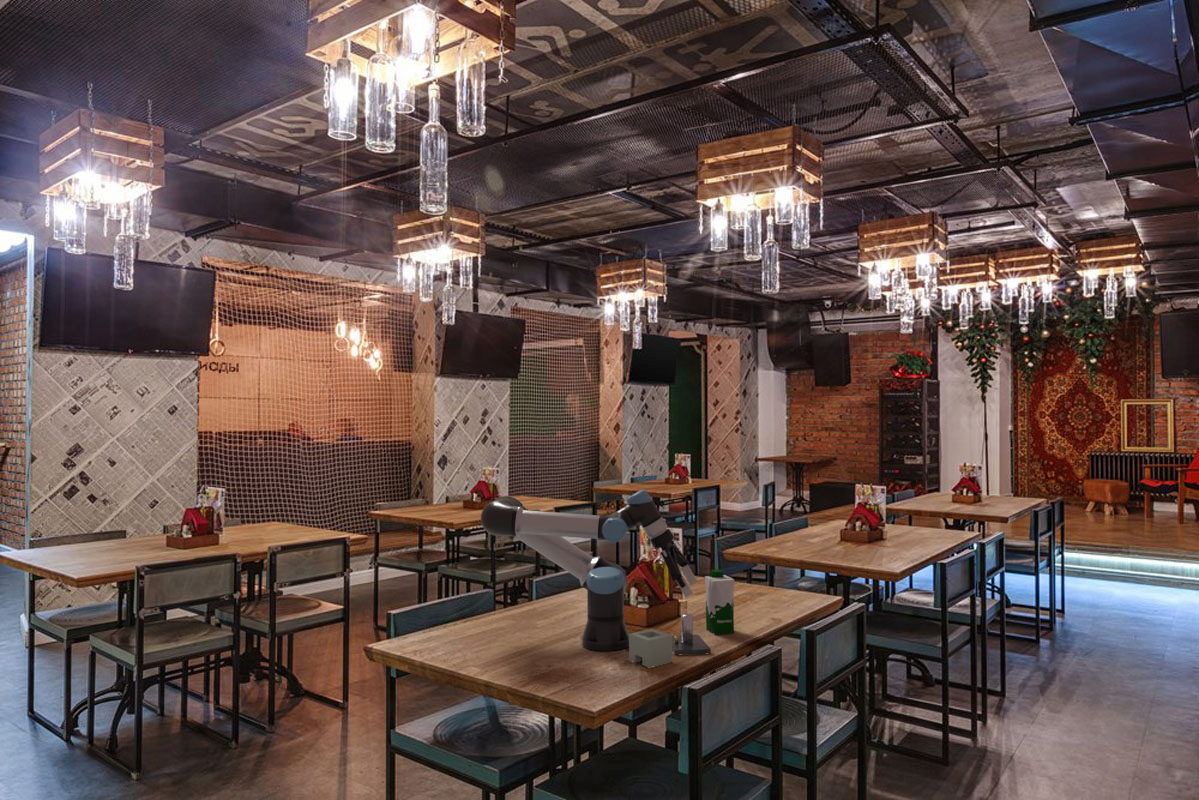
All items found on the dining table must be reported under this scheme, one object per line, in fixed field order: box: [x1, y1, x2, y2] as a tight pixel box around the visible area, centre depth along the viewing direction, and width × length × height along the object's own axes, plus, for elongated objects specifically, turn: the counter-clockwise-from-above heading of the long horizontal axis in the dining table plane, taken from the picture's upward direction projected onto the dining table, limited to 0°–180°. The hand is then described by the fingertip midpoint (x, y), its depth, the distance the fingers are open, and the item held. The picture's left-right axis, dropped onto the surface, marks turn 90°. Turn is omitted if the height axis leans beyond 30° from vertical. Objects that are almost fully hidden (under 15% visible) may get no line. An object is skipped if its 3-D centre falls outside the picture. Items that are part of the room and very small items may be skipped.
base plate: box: [672, 613, 712, 656], centre depth 246 cm, size 11×16×10 cm
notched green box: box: [628, 628, 673, 667], centre depth 231 cm, size 9×9×8 cm
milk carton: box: [704, 569, 735, 636], centre depth 263 cm, size 9×9×20 cm
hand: (691, 589), depth 259 cm, fingers open, 13 cm apart
